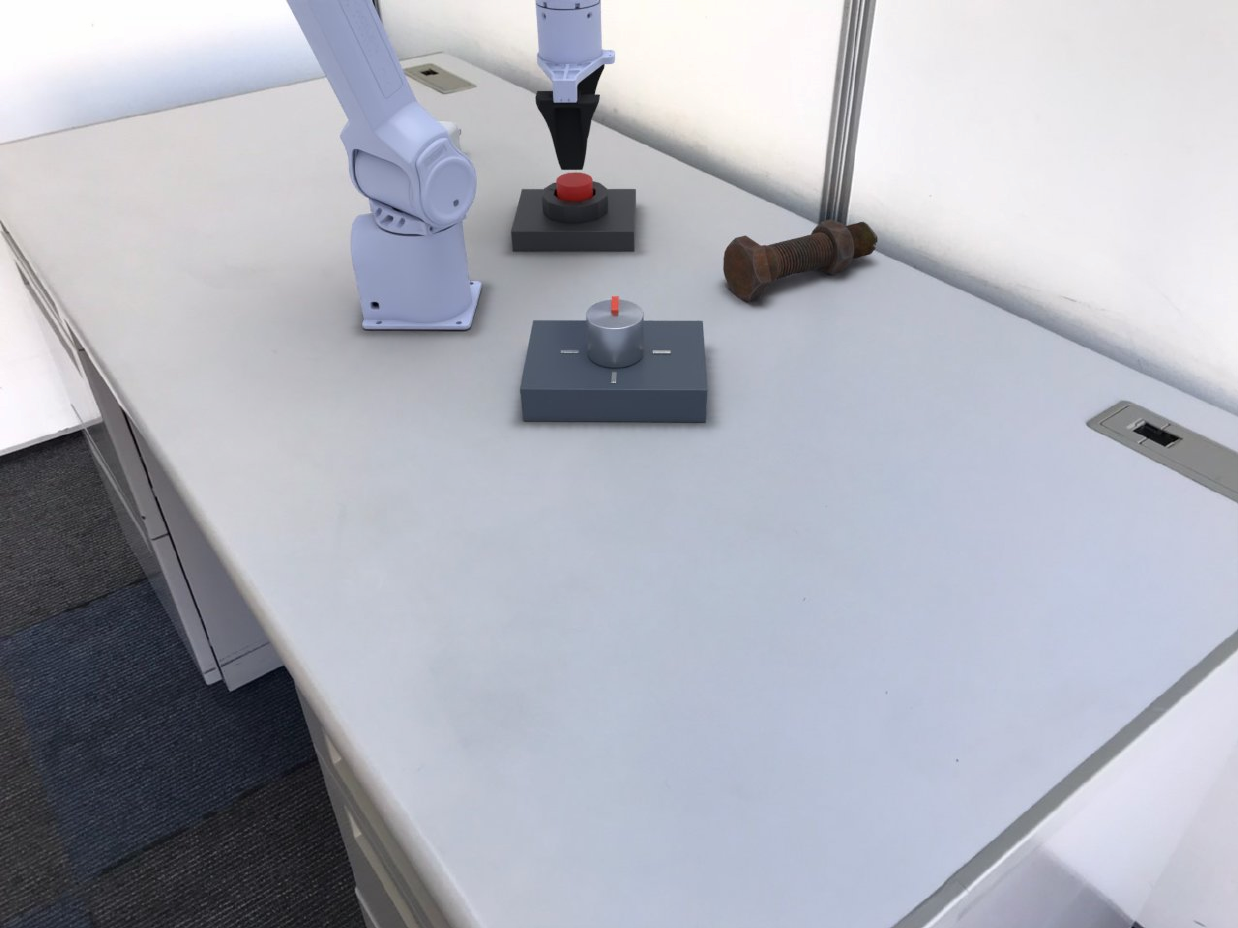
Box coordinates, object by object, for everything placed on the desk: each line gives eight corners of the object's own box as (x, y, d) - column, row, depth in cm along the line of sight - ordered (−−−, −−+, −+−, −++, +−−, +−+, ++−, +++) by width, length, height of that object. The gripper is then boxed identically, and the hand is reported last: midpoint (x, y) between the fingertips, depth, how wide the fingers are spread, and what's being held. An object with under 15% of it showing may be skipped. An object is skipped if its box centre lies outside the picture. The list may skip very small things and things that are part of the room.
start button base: (512, 252, 98) (509, 214, 96) (523, 208, 106) (520, 172, 103) (634, 252, 98) (634, 214, 95) (636, 208, 105) (635, 172, 103)
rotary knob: (643, 368, 76) (643, 325, 74) (586, 368, 76) (584, 325, 74) (643, 337, 80) (643, 295, 77) (588, 337, 80) (586, 296, 77)
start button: (555, 204, 98) (554, 187, 97) (558, 188, 101) (557, 172, 100) (592, 203, 98) (591, 187, 97) (593, 188, 101) (593, 172, 100)
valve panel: (522, 421, 76) (519, 387, 74) (535, 350, 84) (532, 318, 82) (705, 422, 76) (707, 388, 74) (701, 351, 84) (702, 318, 82)
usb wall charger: (414, 167, 115) (409, 132, 113) (439, 145, 120) (435, 112, 118) (446, 170, 114) (441, 136, 112) (470, 148, 119) (466, 115, 117)
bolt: (867, 276, 97) (739, 312, 91) (842, 235, 98) (715, 267, 92) (896, 240, 92) (763, 275, 86) (870, 197, 93) (737, 228, 87)
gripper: (610, 25, 81) (613, 183, 90) (617, -20, 92) (619, 124, 101) (524, 25, 82) (535, 183, 90) (541, -20, 93) (550, 125, 101)
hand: (575, 152), depth 96 cm, fingers open, 7 cm apart
